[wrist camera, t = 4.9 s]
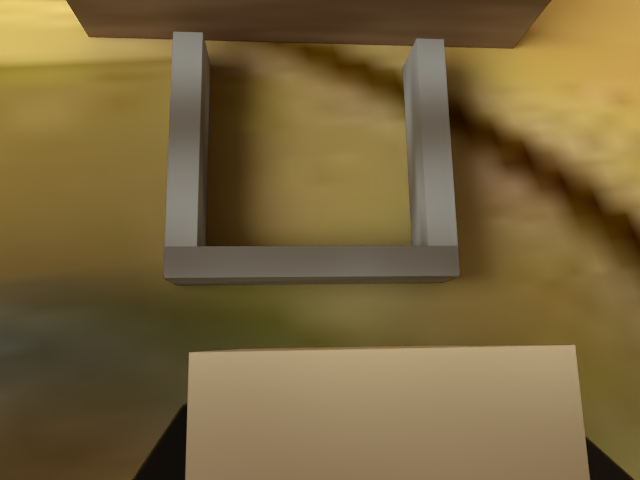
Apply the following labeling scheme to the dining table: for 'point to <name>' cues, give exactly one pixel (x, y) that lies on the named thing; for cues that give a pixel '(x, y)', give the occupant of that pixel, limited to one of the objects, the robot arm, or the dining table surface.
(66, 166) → the dining table surface
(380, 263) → the grey frame stand
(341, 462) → the cabinet block
